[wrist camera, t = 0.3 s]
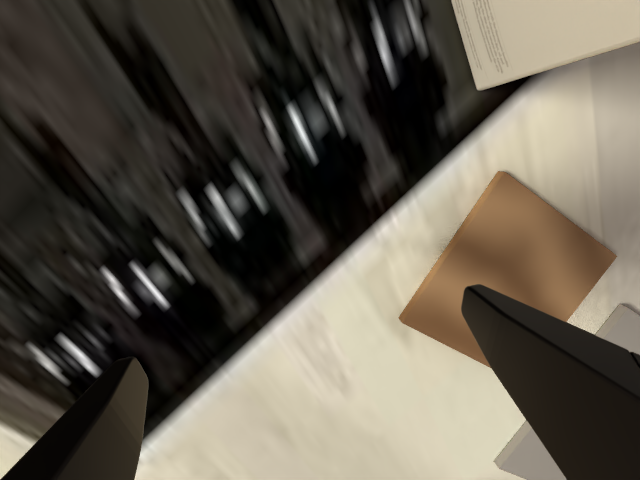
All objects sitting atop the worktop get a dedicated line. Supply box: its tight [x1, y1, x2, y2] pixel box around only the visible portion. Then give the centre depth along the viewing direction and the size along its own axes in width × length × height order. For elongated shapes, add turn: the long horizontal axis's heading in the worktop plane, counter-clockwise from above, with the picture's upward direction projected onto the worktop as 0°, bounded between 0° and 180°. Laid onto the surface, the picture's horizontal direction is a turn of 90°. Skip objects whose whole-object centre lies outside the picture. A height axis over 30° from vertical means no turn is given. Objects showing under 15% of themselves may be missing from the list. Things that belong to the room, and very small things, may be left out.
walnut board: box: [399, 171, 617, 368], centre depth 28 cm, size 14×14×1 cm
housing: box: [494, 304, 640, 480], centre depth 34 cm, size 20×20×3 cm
